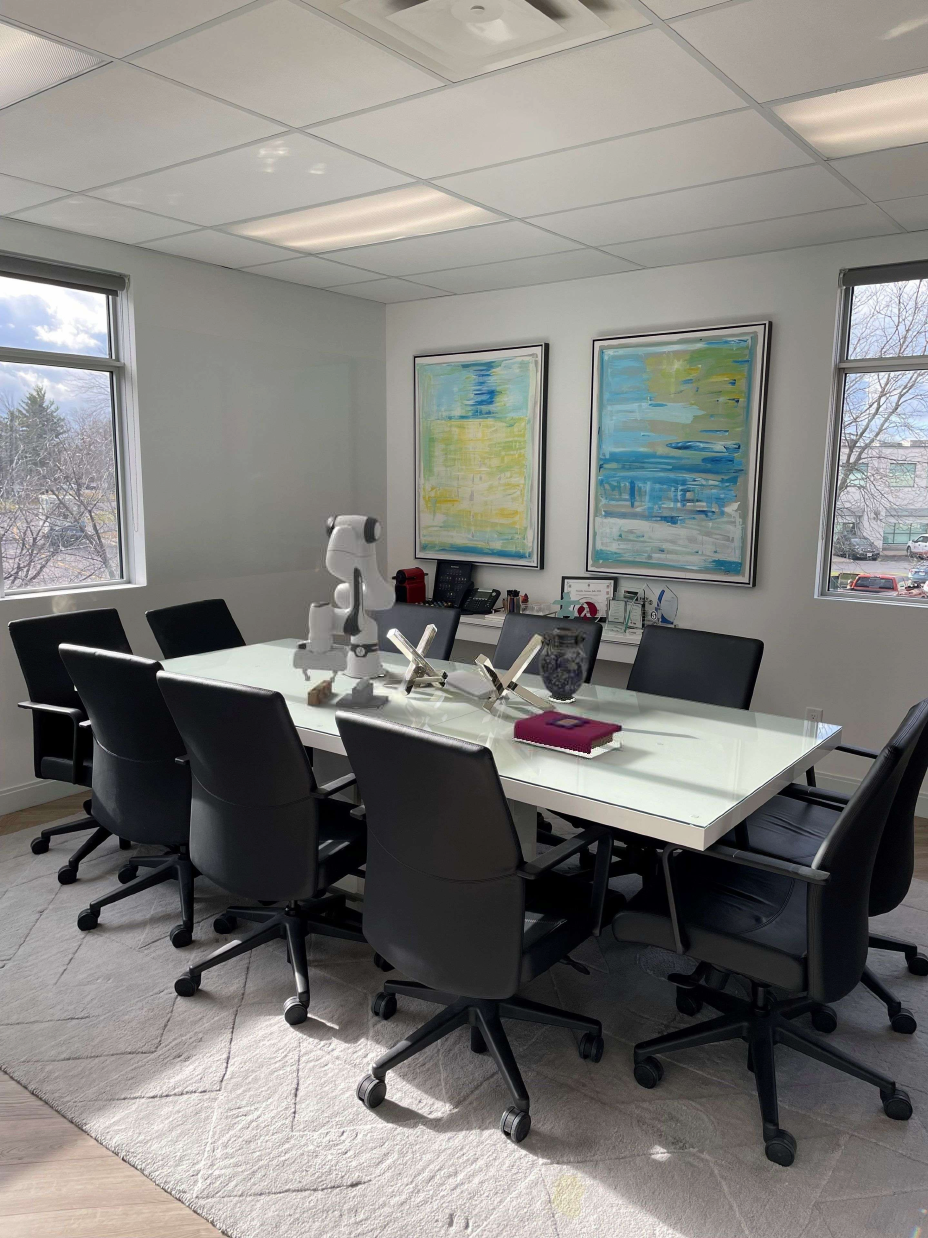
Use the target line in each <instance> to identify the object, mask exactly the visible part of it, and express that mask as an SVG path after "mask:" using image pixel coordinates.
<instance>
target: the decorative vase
mask: <svg viewBox="0 0 928 1238" xmlns="http://www.w3.org/2000/svg"><path fill="white" fill-rule="evenodd" d="M541 638H542V639H541V641H542V643H544V645H545V647H544V649H542V650H541V653H540V655H539V660H538V661H539V662H538V667H539V674H540V678H541V681H542V683H543V685H544V687H545V689H546V690H547V691H548V692H549V693H551V694H550V695H549V696H548V697H550V698H553V699H556V700H561V701H566V700H571V699H573V698H575V697H574V696H573V695H574V694H575V693H577V692H578V691H579V690H580V689H581V687H582V685H583V683H584V682H585V679H586V676H587V674H588V673H587V672H588V667H589V658H588V655H587V653H586V651H585V650H584V645H583V642H585V640H587V631H586V629H583V628H582V629H581V628H580V629H579V630H578V631H577V630H576V628H574V627H573V628H572V627H567V626H565V627H563V626H559V627H555V629H554V630H552V632H551V631H550V630H545V631H543V633H542V635H541Z"/></svg>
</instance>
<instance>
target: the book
mask: <svg viewBox="0 0 928 1238" xmlns="http://www.w3.org/2000/svg"><path fill="white" fill-rule="evenodd" d="M622 730H623V726H622V725H621V724H617V723H610V722H605V721H601V720H596V719H591V718H586V717H582V716H578V715H573V714H568V713H565V712H564V713H563V712H560V711H555V710H546V711H543V712H541V713H538V714H535V715H532V716H528V717H525V718H523V719H518V720H516V722H515V723H514V726H513V739H514V738H517V739H522V740H526V741H531V742H535V743H539V744H544V745H549V746H554V747H560V748H564V749H569V750H573V751H578V752H583V753H587V754H590V753H591V749H594V748H596V747H600V746H603V745H605V744H607V743H610V742H612V741H613V740H614V739H613V738H614V734H616V733H620V732H622Z"/></svg>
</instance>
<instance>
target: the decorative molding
mask: <svg viewBox="0 0 928 1238" xmlns="http://www.w3.org/2000/svg"><path fill="white" fill-rule="evenodd" d="M447 674H448V677H447V680H446V683H445V684H447V685H448V686H451V687H453V688H455V689H457V690H458V691H459V690H460V691H461V692H463V693H464V694H467V695H469V696H471V697H474V698H476V699H478V700H485V699H484V698H488V699H489V697H490V696H491V695H492V694H493V692H494V689H493V687H492V685H491V683H492V682H490V681H488V680H486V679H483V678H481V677H479V676H477V675H475V674H472V673H469V672H468V671H465V670H463V669H458V670H455V671H452V672H450V673H447Z"/></svg>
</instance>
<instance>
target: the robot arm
mask: <svg viewBox="0 0 928 1238" xmlns="http://www.w3.org/2000/svg"><path fill="white" fill-rule="evenodd" d="M381 531H382V529H381V523H380V521H379V520H378V519H377V518H376V517H372V516H364V515H357V514H356V515H355V514H353V515H338V514H336V515H332V516H330V517H329V518H328V519H327V520H326V524H325V534H326V537H327V538H328V539H329V541H328V546H327V550H326V556H325V567H326V568H327V570H328V571H329V573H330V574H331V575H333V576H335V577H336V578H338V579H340V580H342V581H344V582H343V583H340V584H338V585H337V587H336V588H335V591H334V596H333V597H334V600H335V603H336V605H337V606H338V607H340V608H337V607H336V608H335V607H333V604H332V602H330V601H329V600H316V601H314V602H311V604H310V606H309V615H308V628H309V633H308V639H305V640H303V641H299V642H298V643H296V644H295V649H296V650H295V651H294V652H293V656H292V657H293V658H292V666H293V668H294V669H298V670H300V669H301V671H302V672H301V673H302V674H303V676H304V680H305V682H310V681H311V675H309V674H308V673H307V672H308V670H314V671H315V670H317V671H331V672H332V674H333V675H332V676H330V677H329V680H330V683H332V684H334V683H335V682H336V681H335V680H336V677H337V675H338V673H339V672H341V674H342V675H345V676H347V677H351V678H356V679H357V678H358V679H363V678H364V677H370V679H373V678H379V677H378V676H380V675H385V674H386V675H387V672H388V671H387V670H388V669H387V667H386V666H383V664H382V663H383V661H382V656H381V653H380V652H379V650H380V649H379V646H380V645H379V644H380V643H379V640H378V624H377V622H376V621H375V620H374V619H372V618H371V617H369V616H368V615H367V614H366V612H365V611H366V610H370V611H383V610H391V609H392V607H393V606H394V604H395V602H396V591H395V590H394V588H393V587H392V586H391V585H389V584H388V583H387V582H386V581H385V579H383V578H382V576H381V575H380V572H379V569H378V563H377V554H376V553H377V551H376V542H377V541H378V540H379V539H380V536H381ZM333 634H334V635H345V636H348V637H350V641H349V651H348V649H347V648H346V647H345V646H343V645H333V644H334V643H333V642H334V640H333Z"/></svg>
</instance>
